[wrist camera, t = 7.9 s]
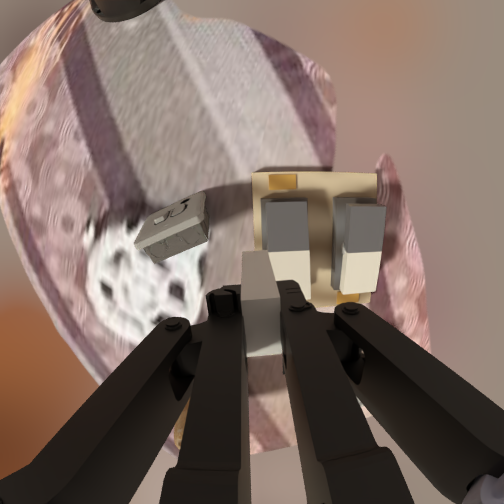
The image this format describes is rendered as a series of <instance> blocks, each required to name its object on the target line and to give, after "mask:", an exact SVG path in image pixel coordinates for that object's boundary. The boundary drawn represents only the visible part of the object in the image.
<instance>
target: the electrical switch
mask: <svg viewBox="0 0 504 504" xmlns="http://www.w3.org/2000/svg"><path fill="white" fill-rule="evenodd" d="M205 199H206V195H205V193H204V191H201V192H198V193H196V194H194V195H191V196H189V197H187V198H185V199H183V200H180V201H178V202H176V203H174V204H172V205H170V206H168V207H166V208H164V209H161V210H159V211H157V212H155V213H153V214H151V215H150V216H149V217H147V219H146V221H145V223H144V225H143V226H142V228H141V230H140V232H139V234H138V236H137V238H136V240H135V242H134V245H135V247H136V249H137V250H140V249H142V248H143V249H144V250H145V252H146V254H147V255H149V256H150V258H151V260H152V261H153V263H154V264H155V263H157V262H160V261H162V260H164V259H167V258H169V257H171V256H174V255H176V254H178V253H181V252H183V251H185V250H188V249H190V248H193V247H195V246H197V245H200V244H202V243H204V242H207V241H208V240H207V239H208V232H209V215H208V213H207V211H206V207H205V205H204V202H205ZM177 235H178V236H177ZM176 236H177V237H176ZM179 237H180V238H181V240H182V241H181V240H180V238H179ZM162 243H163V244H162ZM168 246H169V247H168Z"/></svg>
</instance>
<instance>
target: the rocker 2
mask: <svg viewBox="0 0 504 504" xmlns="http://www.w3.org/2000/svg"><path fill="white" fill-rule="evenodd" d="M385 218H386V206H384V205H382V204H346V220H345V236H344V243H342V253H343V260H342V270H341V280H340V288H339V289H340V291H341V292H342V294H343V295H344V294H355V293H365V292H375V291H376V285H377V279H378V273H379V267H380V260H381V253H382V245H383V237H384V228H385Z"/></svg>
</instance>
